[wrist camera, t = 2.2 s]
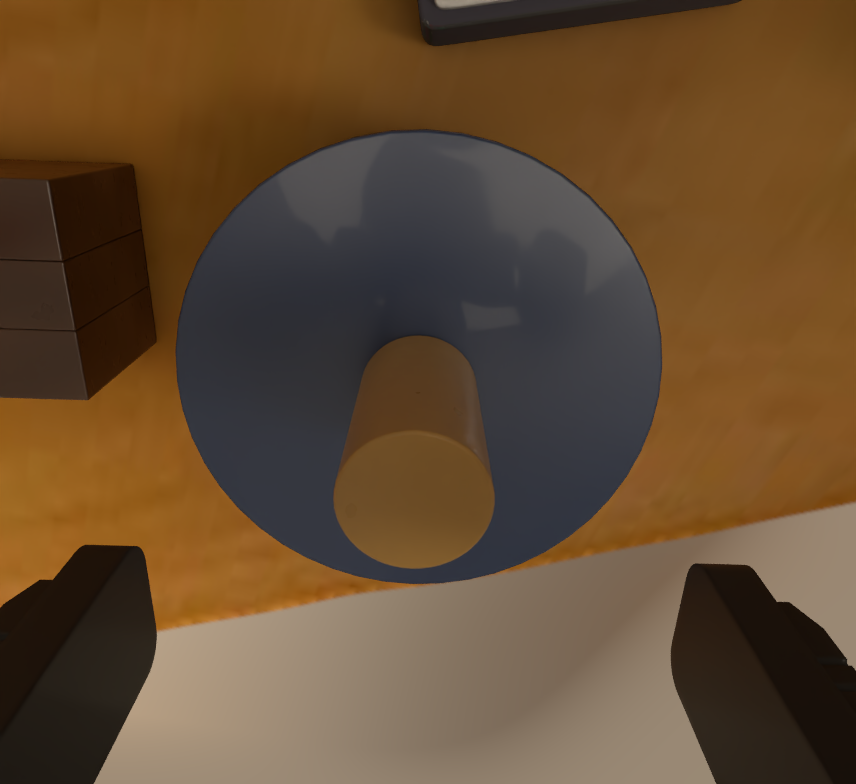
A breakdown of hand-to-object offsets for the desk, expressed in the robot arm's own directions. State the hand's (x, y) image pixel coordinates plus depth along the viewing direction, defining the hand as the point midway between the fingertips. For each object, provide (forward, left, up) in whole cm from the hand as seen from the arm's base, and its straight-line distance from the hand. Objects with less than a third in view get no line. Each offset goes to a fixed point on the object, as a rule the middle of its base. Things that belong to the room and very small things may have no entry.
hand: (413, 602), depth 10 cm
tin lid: (0, 0, -9) cm, 9 cm away
